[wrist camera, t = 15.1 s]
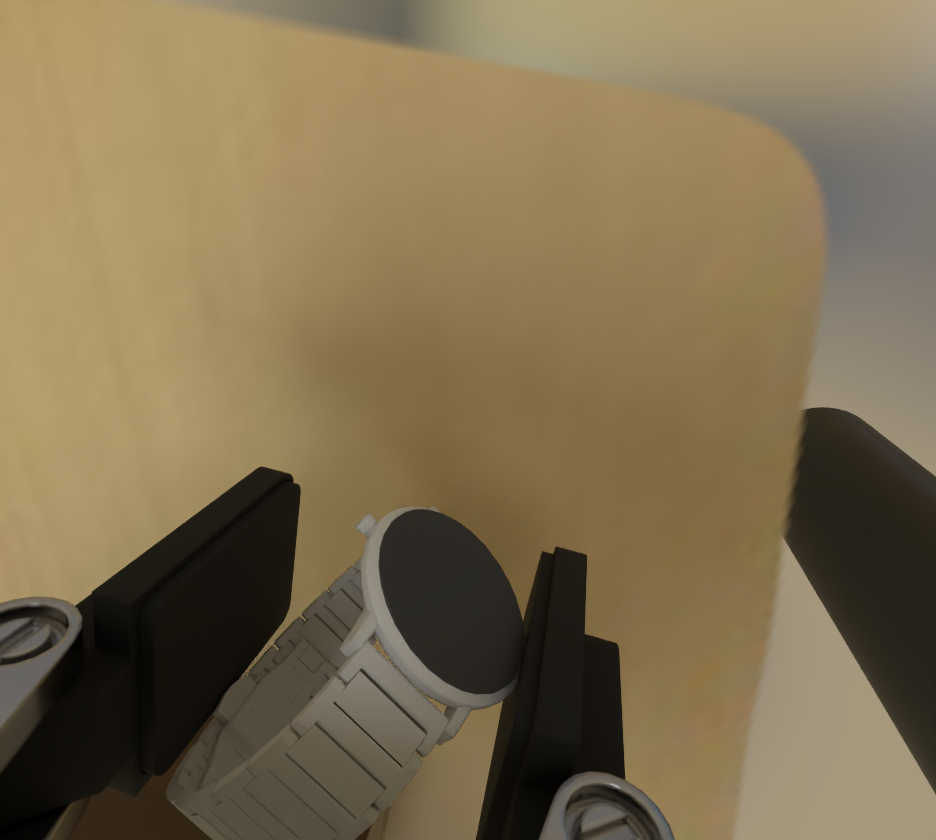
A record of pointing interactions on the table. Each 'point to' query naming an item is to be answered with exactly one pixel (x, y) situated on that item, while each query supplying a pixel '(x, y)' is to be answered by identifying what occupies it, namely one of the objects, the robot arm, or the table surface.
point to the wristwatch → (358, 688)
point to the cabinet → (158, 812)
